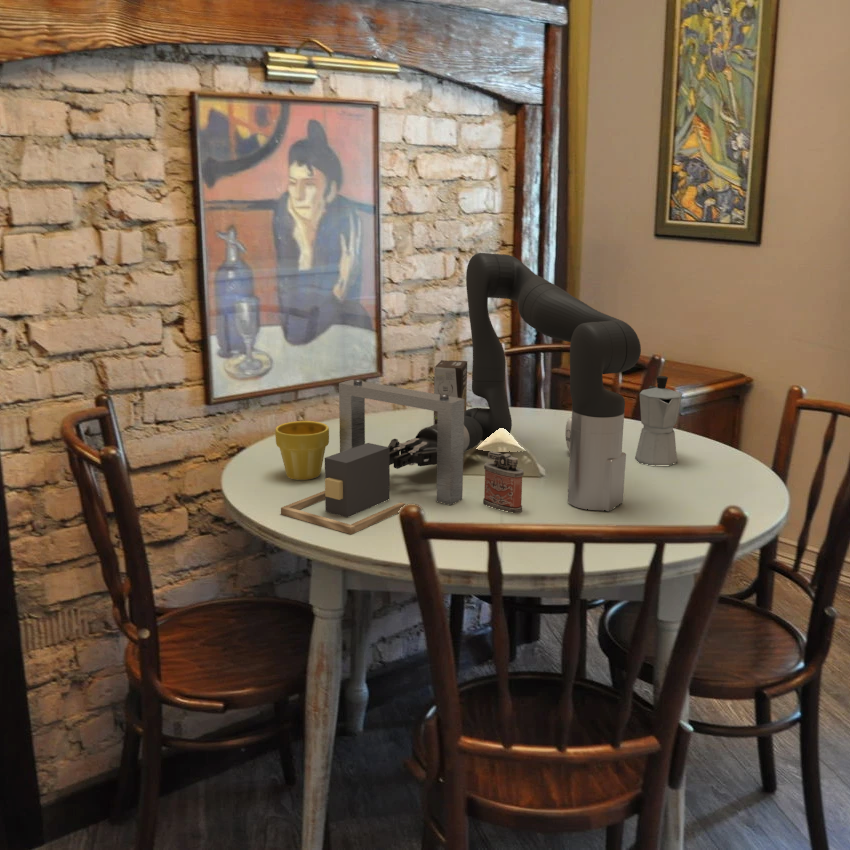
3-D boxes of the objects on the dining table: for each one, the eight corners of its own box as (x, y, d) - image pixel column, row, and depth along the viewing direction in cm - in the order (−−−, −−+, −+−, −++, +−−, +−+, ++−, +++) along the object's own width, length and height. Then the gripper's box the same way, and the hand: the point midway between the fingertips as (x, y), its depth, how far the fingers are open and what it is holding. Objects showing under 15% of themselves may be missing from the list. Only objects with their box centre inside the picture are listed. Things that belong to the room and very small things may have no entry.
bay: (405, 509, 174) (405, 503, 174) (351, 534, 163) (351, 527, 162) (336, 492, 183) (336, 485, 183) (280, 514, 172) (280, 507, 171)
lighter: (526, 510, 175) (528, 456, 172) (514, 514, 173) (516, 460, 170) (490, 499, 180) (492, 447, 178) (479, 504, 178) (480, 451, 175)
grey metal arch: (462, 499, 180) (464, 395, 175) (450, 505, 177) (451, 399, 172) (353, 473, 195) (352, 376, 190) (340, 478, 192) (338, 380, 187)
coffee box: (460, 438, 220) (462, 368, 216) (432, 436, 221) (433, 366, 217) (467, 428, 229) (468, 360, 224) (440, 426, 230) (440, 358, 226)
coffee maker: (684, 469, 199) (692, 383, 194) (641, 469, 199) (647, 383, 194) (666, 449, 213) (673, 368, 209) (626, 448, 213) (632, 367, 209)
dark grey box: (389, 499, 180) (389, 447, 177) (343, 519, 170) (342, 464, 167) (368, 494, 183) (368, 442, 180) (321, 513, 172) (320, 459, 170)
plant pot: (290, 486, 186) (289, 437, 184) (268, 472, 195) (266, 425, 192) (339, 477, 192) (338, 429, 189) (314, 464, 200) (313, 418, 198)
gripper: (414, 418, 198) (360, 436, 185) (472, 429, 191) (419, 449, 177) (414, 453, 200) (360, 474, 187) (471, 465, 193) (419, 488, 179)
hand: (389, 461), depth 182 cm, fingers closed
